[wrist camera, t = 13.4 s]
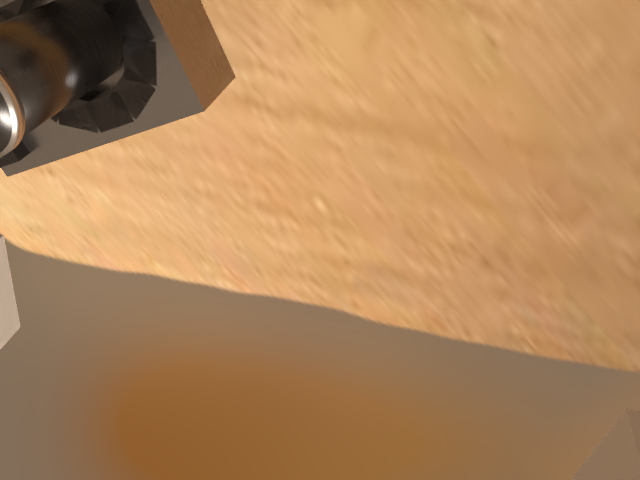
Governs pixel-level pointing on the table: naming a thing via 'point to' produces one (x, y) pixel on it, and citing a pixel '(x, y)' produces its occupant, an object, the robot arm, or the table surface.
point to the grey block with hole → (132, 80)
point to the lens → (52, 63)
